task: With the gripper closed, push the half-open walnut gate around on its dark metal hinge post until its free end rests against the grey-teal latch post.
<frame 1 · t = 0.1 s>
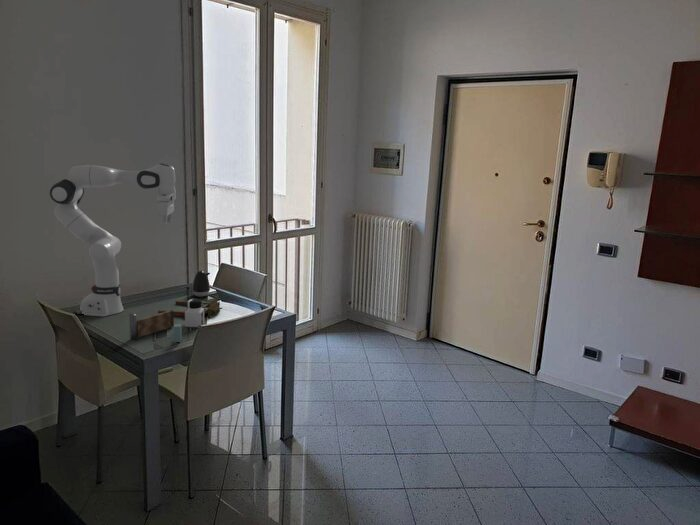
hand: (167, 223, 267), 48 cm above the table, tool pointing down, fingers open, 8 cm apart
hinge post: (133, 339, 238), on the table
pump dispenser: (201, 296, 309), on the table
container: (194, 325, 261), on the table
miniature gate: (193, 313, 280), on the table
latch post: (177, 341, 238), on the table
gate: (155, 323, 247), point 5 cm above the table, hinge at 50.0°
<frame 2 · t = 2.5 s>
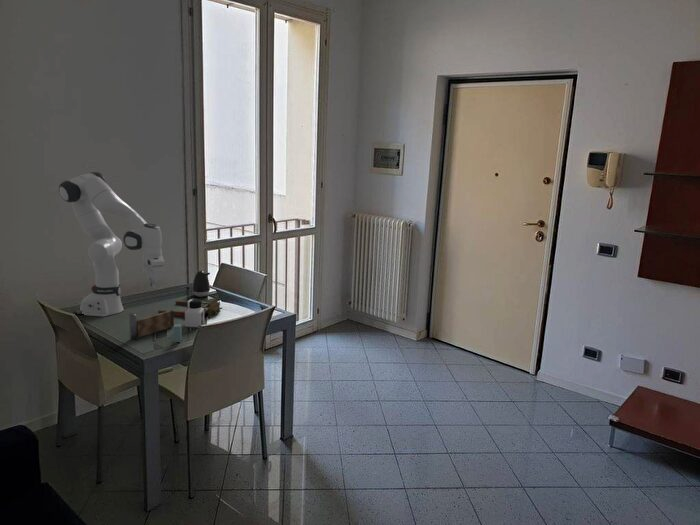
hand: (153, 286, 248), 21 cm above the table, tool pointing down, fingers closed
nothing on the table moved.
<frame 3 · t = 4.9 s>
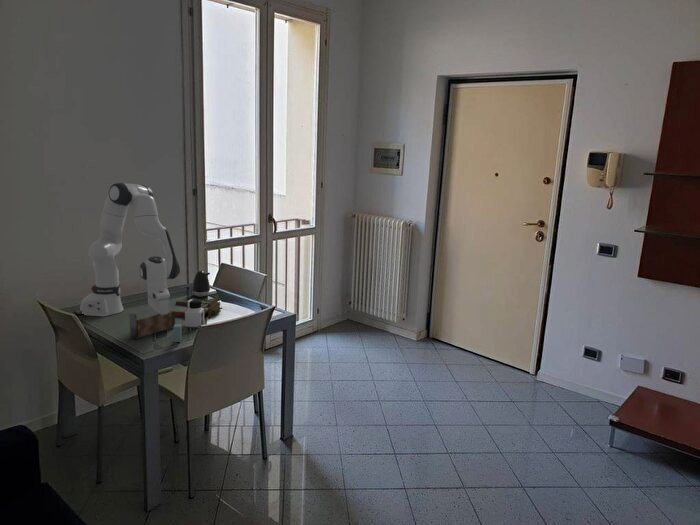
hand: (158, 318, 250), 6 cm above the table, tool pointing down, fingers closed
gate: (156, 323, 247), point 5 cm above the table, hinge at 46.9°, touching gripper
everything else where it was.
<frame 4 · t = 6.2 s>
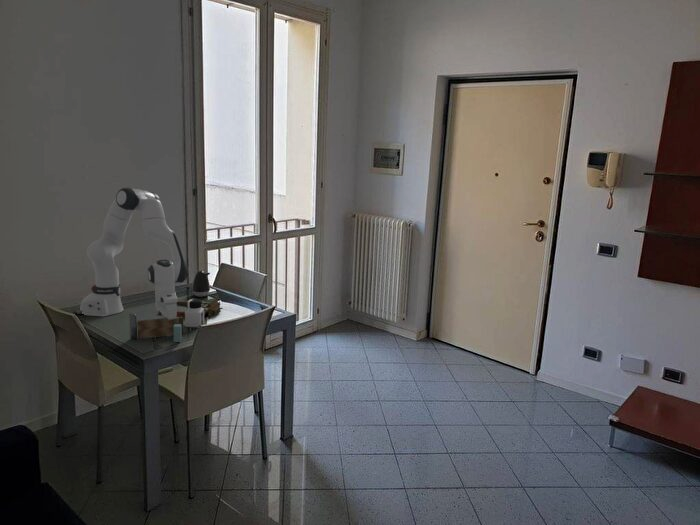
hand: (165, 322, 246), 6 cm above the table, tool pointing down, fingers closed
gate: (160, 327, 242), point 5 cm above the table, hinge at 18.9°, touching gripper
everything else where it was.
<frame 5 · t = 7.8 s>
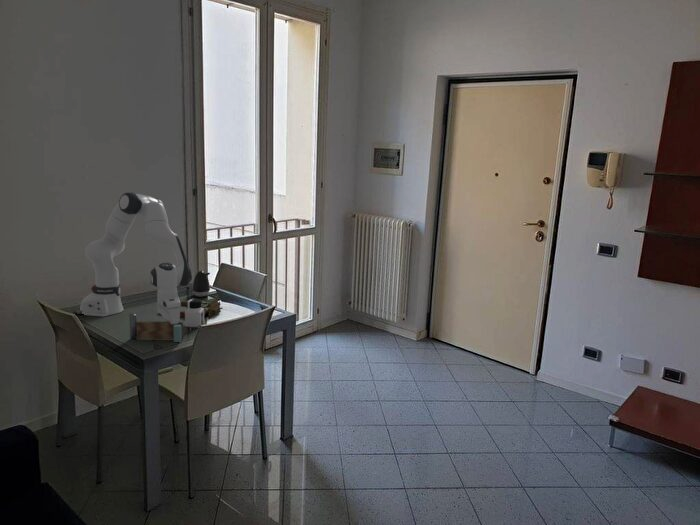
hand: (168, 326, 241), 5 cm above the table, tool pointing down, fingers closed
gate: (160, 330, 239), point 5 cm above the table, hinge at -0.9°, touching gripper, latch post
everything else where it was.
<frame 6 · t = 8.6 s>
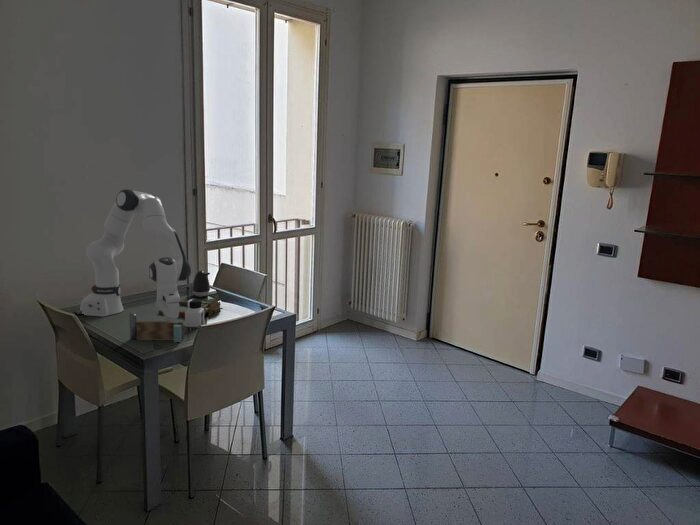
hand: (167, 321, 241), 8 cm above the table, tool pointing down, fingers closed
nothing on the table moved.
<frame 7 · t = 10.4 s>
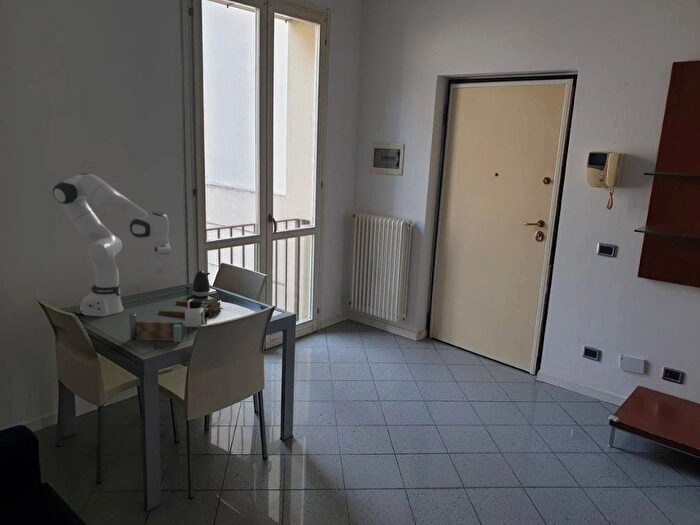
hand: (159, 273, 254), 26 cm above the table, tool pointing down, fingers closed
gate: (160, 330, 239), point 5 cm above the table, hinge at -0.9°, touching latch post
everything else where it was.
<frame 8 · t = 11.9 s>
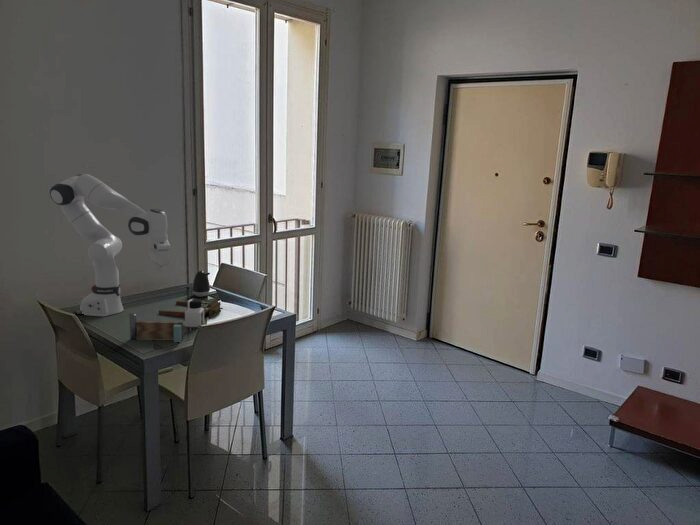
hand: (159, 270, 254), 27 cm above the table, tool pointing down, fingers closed
nothing on the table moved.
at the end: gate at -1° (first picture: +50°); container moved 0.6 cm from its start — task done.
